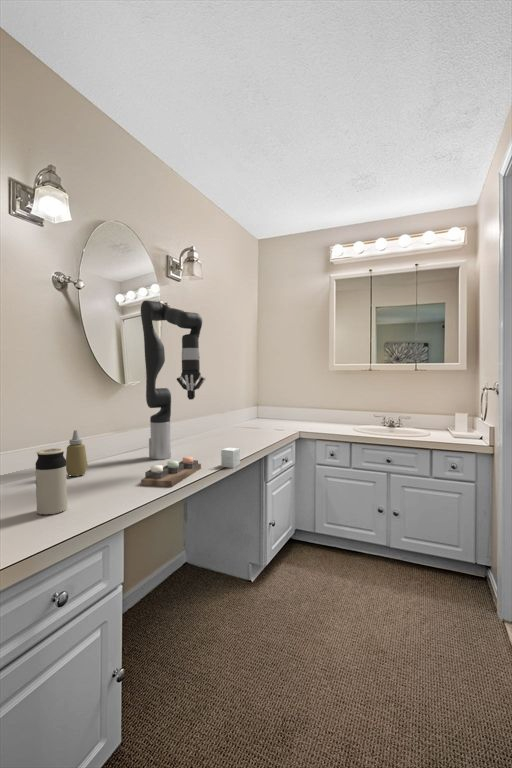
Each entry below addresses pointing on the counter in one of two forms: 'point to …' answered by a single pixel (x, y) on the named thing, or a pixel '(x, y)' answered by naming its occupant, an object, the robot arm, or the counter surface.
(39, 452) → the travel mug
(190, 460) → the terracotta button
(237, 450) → the product box
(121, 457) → the counter surface
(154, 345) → the robot arm
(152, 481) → the button panel
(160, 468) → the cream button
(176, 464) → the sage button
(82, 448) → the squeeze bottle
